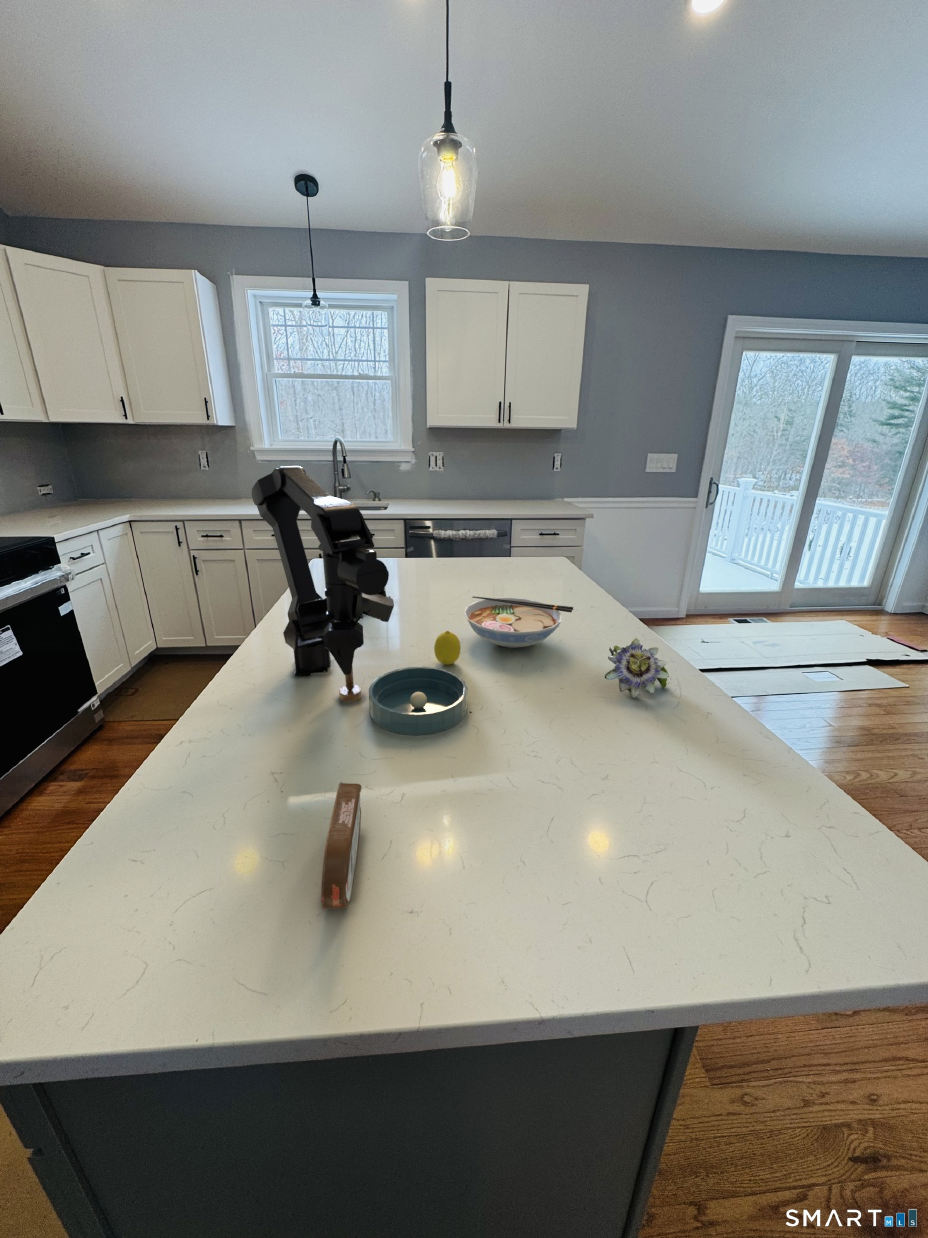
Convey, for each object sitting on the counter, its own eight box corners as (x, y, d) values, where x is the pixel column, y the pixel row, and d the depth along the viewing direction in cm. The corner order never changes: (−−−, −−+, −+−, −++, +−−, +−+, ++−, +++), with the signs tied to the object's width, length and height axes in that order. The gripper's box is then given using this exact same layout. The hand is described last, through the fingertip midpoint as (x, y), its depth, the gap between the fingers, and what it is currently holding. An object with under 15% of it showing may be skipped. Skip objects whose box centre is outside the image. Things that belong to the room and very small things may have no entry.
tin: (341, 821, 65) (337, 767, 62) (366, 820, 66) (363, 766, 63) (321, 929, 52) (313, 867, 48) (352, 927, 52) (347, 865, 49)
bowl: (371, 743, 82) (369, 718, 80) (369, 691, 97) (367, 670, 96) (475, 733, 85) (476, 709, 83) (457, 684, 100) (457, 663, 99)
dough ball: (411, 712, 89) (410, 697, 88) (409, 704, 92) (409, 689, 91) (427, 711, 90) (427, 696, 89) (425, 702, 92) (425, 688, 91)
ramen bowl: (443, 651, 115) (443, 617, 112) (478, 618, 135) (479, 589, 132) (552, 672, 106) (555, 636, 103) (572, 633, 126) (576, 602, 123)
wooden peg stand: (339, 705, 92) (335, 650, 88) (340, 694, 96) (335, 641, 92) (361, 703, 93) (358, 649, 89) (361, 693, 96) (358, 640, 93)
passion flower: (629, 720, 99) (603, 680, 94) (616, 684, 108) (591, 646, 103) (685, 695, 96) (660, 652, 91) (666, 661, 105) (642, 620, 100)
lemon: (457, 672, 105) (457, 637, 102) (431, 670, 106) (431, 634, 103) (462, 661, 110) (463, 627, 107) (437, 658, 111) (437, 625, 108)
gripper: (393, 595, 79) (396, 684, 85) (387, 564, 96) (390, 639, 102) (319, 598, 77) (327, 689, 83) (326, 566, 94) (332, 643, 100)
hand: (348, 662), depth 92 cm, fingers open, 9 cm apart
